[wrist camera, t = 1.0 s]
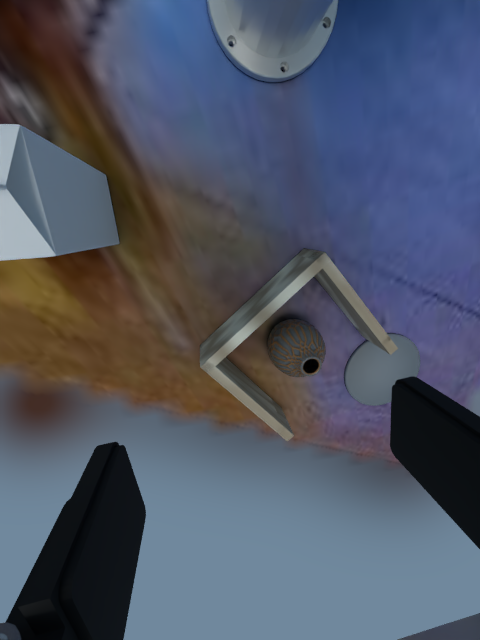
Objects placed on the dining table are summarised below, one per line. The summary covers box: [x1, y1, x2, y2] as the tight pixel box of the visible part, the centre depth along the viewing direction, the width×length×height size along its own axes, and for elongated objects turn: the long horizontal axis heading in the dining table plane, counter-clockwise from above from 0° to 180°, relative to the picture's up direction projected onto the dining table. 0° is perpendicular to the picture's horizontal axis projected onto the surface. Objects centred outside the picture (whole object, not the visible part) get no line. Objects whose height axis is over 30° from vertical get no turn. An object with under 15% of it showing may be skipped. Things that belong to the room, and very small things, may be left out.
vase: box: [267, 319, 326, 377], centre depth 34 cm, size 7×7×9 cm
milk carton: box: [0, 124, 120, 261], centre depth 21 cm, size 7×7×19 cm
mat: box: [344, 333, 420, 405], centre depth 42 cm, size 12×12×1 cm
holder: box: [200, 248, 398, 441], centre depth 35 cm, size 18×16×6 cm
